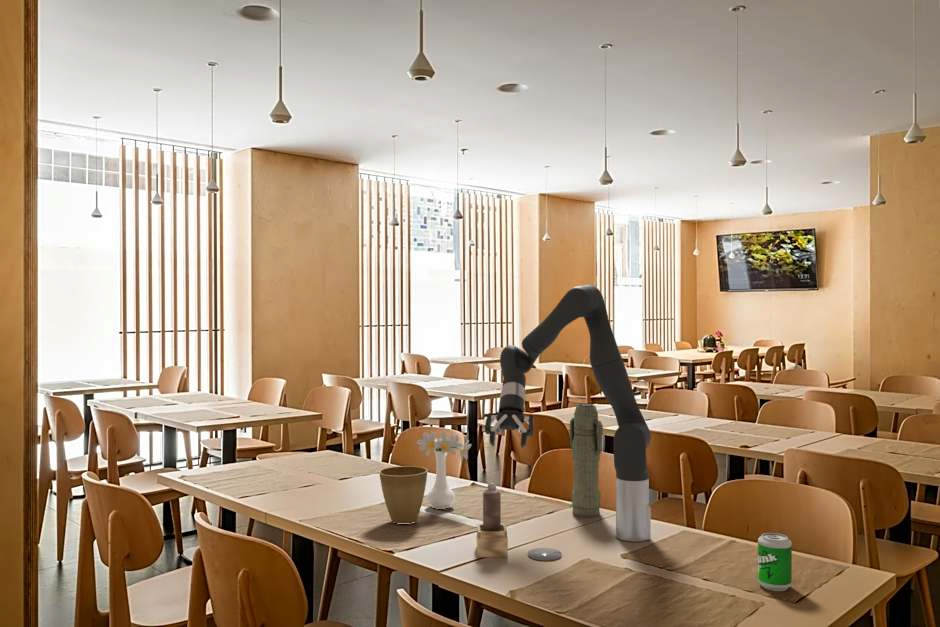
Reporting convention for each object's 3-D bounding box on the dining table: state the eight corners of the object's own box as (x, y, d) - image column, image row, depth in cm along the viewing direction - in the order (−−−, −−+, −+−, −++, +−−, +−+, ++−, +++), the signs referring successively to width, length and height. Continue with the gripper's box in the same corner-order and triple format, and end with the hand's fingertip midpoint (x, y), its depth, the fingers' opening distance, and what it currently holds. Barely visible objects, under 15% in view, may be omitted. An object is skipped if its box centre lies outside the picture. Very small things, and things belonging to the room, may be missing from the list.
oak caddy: (505, 546, 219) (505, 523, 219) (507, 556, 210) (507, 532, 210) (476, 546, 219) (476, 523, 219) (477, 557, 210) (477, 532, 210)
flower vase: (466, 513, 253) (466, 436, 252) (411, 510, 256) (410, 434, 256) (474, 503, 265) (474, 429, 265) (421, 501, 269) (421, 428, 269)
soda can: (783, 580, 191) (783, 531, 191) (797, 592, 184) (797, 541, 183) (752, 581, 191) (752, 532, 191) (765, 592, 183) (765, 541, 183)
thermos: (595, 519, 246) (595, 407, 245) (563, 513, 253) (563, 404, 252) (609, 513, 253) (609, 404, 252) (577, 507, 260) (577, 401, 259)
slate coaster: (559, 550, 215) (559, 547, 215) (563, 560, 206) (563, 558, 206) (526, 550, 215) (526, 548, 215) (529, 561, 206) (529, 558, 206)
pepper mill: (500, 530, 217) (500, 480, 216) (501, 535, 212) (501, 484, 212) (482, 530, 216) (482, 480, 216) (483, 536, 212) (483, 484, 211)
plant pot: (431, 515, 250) (430, 465, 250) (423, 529, 236) (423, 476, 235) (384, 514, 252) (384, 464, 252) (374, 528, 237) (374, 475, 237)
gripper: (487, 392, 237) (481, 436, 226) (535, 393, 235) (531, 438, 224) (490, 407, 243) (484, 451, 231) (536, 409, 240) (532, 453, 229)
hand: (507, 445), depth 228 cm, fingers open, 8 cm apart
